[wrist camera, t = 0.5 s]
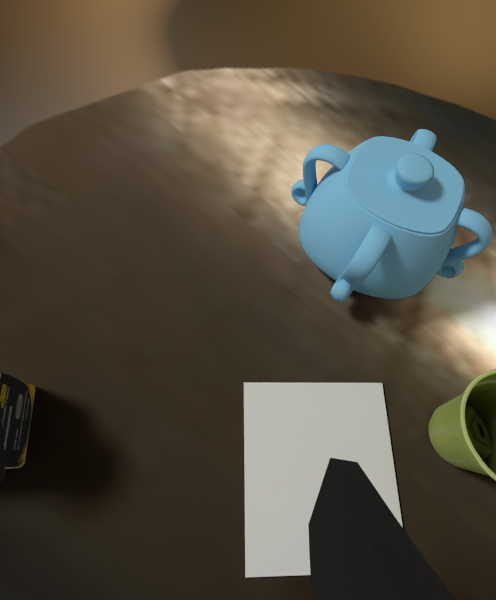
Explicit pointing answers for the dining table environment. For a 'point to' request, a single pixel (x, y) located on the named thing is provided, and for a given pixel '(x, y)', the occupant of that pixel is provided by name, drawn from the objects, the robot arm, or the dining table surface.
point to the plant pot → (468, 427)
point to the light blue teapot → (385, 216)
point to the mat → (305, 462)
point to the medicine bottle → (15, 418)
